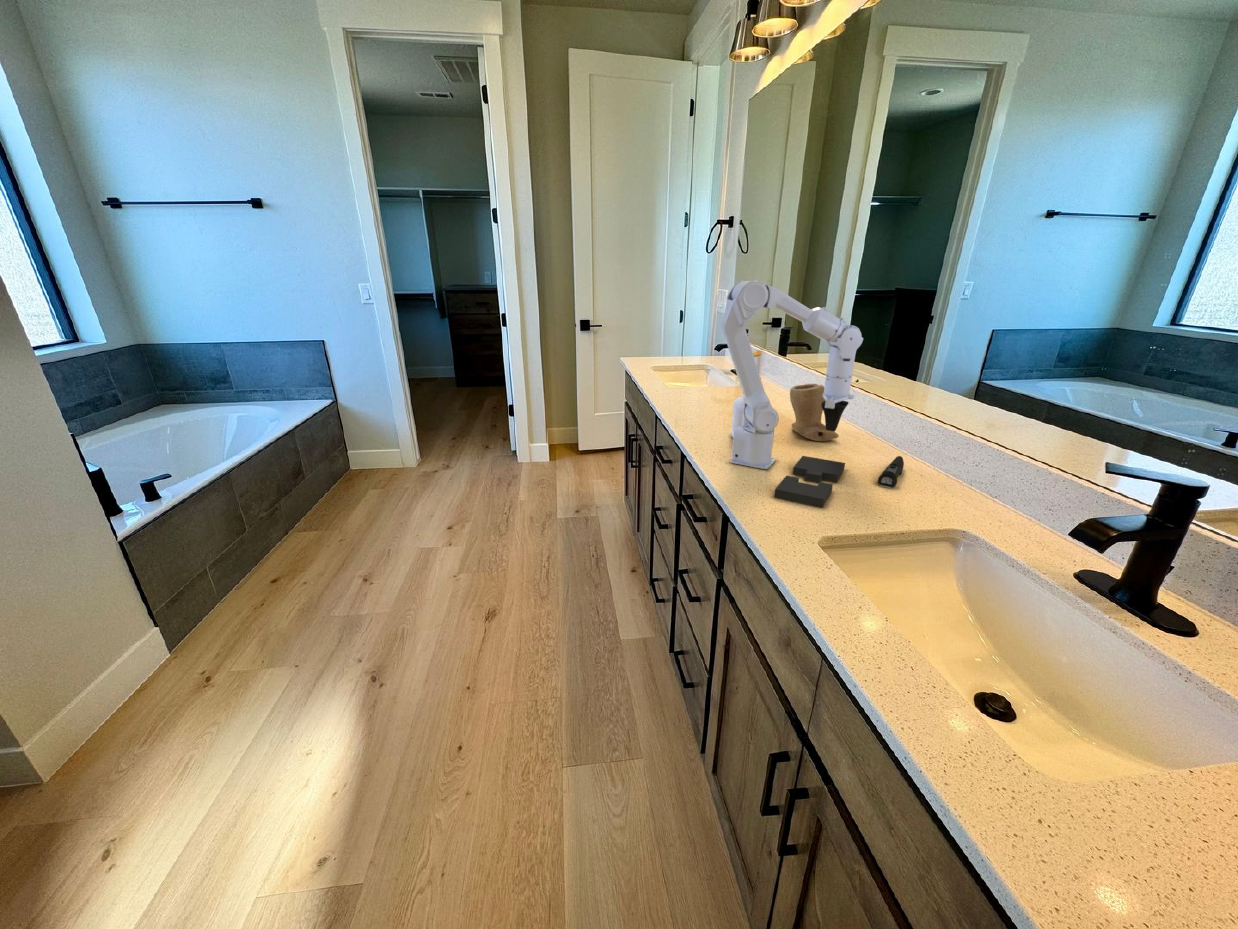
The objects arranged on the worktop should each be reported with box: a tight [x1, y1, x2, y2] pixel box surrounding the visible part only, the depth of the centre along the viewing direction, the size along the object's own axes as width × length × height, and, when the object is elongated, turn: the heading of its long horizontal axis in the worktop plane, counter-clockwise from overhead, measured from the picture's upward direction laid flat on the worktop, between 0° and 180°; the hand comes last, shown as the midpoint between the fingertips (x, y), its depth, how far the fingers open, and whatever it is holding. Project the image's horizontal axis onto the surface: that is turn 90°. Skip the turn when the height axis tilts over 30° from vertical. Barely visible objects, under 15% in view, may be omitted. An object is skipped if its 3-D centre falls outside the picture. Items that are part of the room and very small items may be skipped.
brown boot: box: [789, 383, 840, 442], centre depth 143 cm, size 15×12×15 cm
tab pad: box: [792, 455, 846, 484], centre depth 117 cm, size 10×11×2 cm
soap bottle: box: [730, 351, 762, 438], centre depth 140 cm, size 9×9×25 cm
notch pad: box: [773, 475, 834, 509], centre depth 106 cm, size 10×9×2 cm
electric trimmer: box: [877, 455, 905, 489], centre depth 115 cm, size 4×16×3 cm, turn 143°
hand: (831, 430), depth 123 cm, fingers closed
